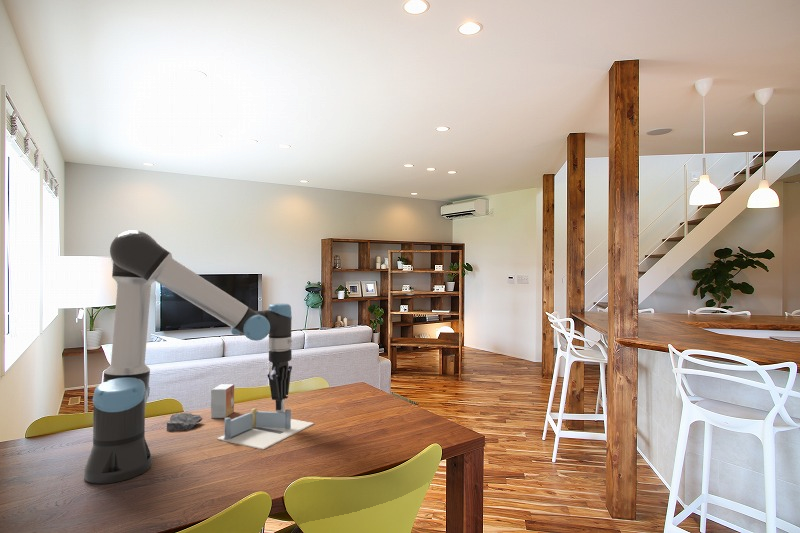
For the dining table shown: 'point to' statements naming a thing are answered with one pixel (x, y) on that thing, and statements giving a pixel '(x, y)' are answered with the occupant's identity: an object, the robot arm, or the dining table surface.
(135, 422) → the robot arm
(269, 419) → the swing fence panel
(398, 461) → the dining table surface
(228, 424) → the fixed fence panel
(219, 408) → the small box
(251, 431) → the card
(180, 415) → the rock
